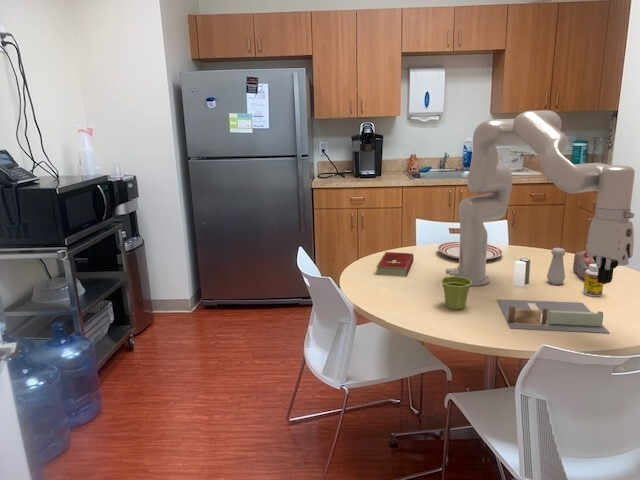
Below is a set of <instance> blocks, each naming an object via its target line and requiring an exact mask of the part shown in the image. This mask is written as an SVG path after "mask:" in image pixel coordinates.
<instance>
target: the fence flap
mask: <svg viewBox="0 0 640 480" xmlns="http://www.w3.org/2000/svg"><path fill="white" fill-rule="evenodd" d="M603 320H604V312H603V311H602V310H601V311H599V310H598V312H597V311H596V312H595V311H594V312H592V311H591V312H572V311H549V316H548V323H549V324H566V325H587V326H602V325H603V322H604V321H603Z"/></svg>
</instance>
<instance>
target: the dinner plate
mask: <svg viewBox="0 0 640 480" xmlns="http://www.w3.org/2000/svg"><path fill="white" fill-rule="evenodd" d="M437 250H438V251H439V252H440V253H441V254H443V255H445V256H447V257H450V258H452V259H454V258H455V260H458V261H459V253H460V240H458V241H447V242H443V243H440V244H439V245H438V246H437ZM503 254H504V251H503V250H502V249H501V248H499V247H498V246H496V245H492V244H489V243H487V256H486V261H487V260H491V259H495V258H498V257H501V256H502V255H503Z"/></svg>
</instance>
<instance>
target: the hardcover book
mask: <svg viewBox="0 0 640 480" xmlns="http://www.w3.org/2000/svg"><path fill="white" fill-rule="evenodd" d="M414 259H415V258H414V253H412V252H411V253H410V252H408V253H407V252H393V251H385V252H384V254H383V255H382V256H381V259H380V260H379V262H378V263H377V265H376V268H377V275H379V276H390V277H391V276H392V277H393V276H394V277H404V278H405V277H406V278H408V275H409V272H410V271H411V270H410V269H411V267H412V265H413V262H414Z"/></svg>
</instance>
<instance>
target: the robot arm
mask: <svg viewBox="0 0 640 480" xmlns="http://www.w3.org/2000/svg"><path fill="white" fill-rule="evenodd" d="M562 127H563V126H562V119H561V117H560V116H559V114H558V113H556V112H555V111H553V110H546V109H544V110H543V109H542V110H541V109H540V110H526V111H524V112H521V113H519V114H518V115H517V116H516V117H515V118H496V119H489V120H486V121H482V122H480V123H479V124H478V125H477V126H476V128H475V129H474V132H473V135H472V155H471V160H470V166H469V172H468V178H467V189H468V191H470V193H473V194H479V195H473V196H468V197H466V198H464V199H462V200H461V201H460V203H459V205H458V208H457V211H458V218H459V226H460V227H459V229H460V231H459V241H460V253H459V260H458V265H457V267H456V268H455V267H454V269H452V268H446V269H445V275H449V276H454V277H464V278H467V279H469V280H471V281H472V284H471V285H470V287H473V286H475V287H478V286H484V285H488V284H489V283H490V277H489V276H488V275H486V273H487V272H486V270H487V269H486V268H487V260H486V256H487V244H488V230H487V229H486V227H485V225H484V223H485V222H490V221H491V222H492V221H498V220H500V219H502V218H503V217H504V216H505V215H506V213H507V211H508V206H509V201H510V197H511V193H512V188H513V181H514V180H513V175H512V172H511V170H510V168H509V167H507V166H505V165H501V164H498V160H499V153H498V148H497V147H501V146H503V147H504V146H520V145H522V146H523V145H526V146H528V147H529V148H530V149H532V151H533V152H534V153H536V154H537V155H538V156H539V157H540V166H541V167H542V168H541V169H542V171H543V174H544V175H545V177H546V178H547V180H550V182H551V183H552V184H554V185H555V186H556V187H557V188H558V189H560V190H561V191H563V192H565V193H568V194H580V193H590V192H597V193H596V201H595V212H594V213H595V214H594V217H593V218H592V220H591V222H590V225H589V228H588V231H587V232H588V234H587V237H586V238H587V239H586V252H587V256H588V257H590V258H592V259H594V261H595V262H596V266H597V267H598V282H599V283H602V284H603V285H605V284H606V285H607V284H610V283H612V281H613V275H614V269H616V268H617V267H621V266H622V267H625V266H628V265H630V263H629V259H631V258H633V254H634V246H635V245H634V243H635V242H634V241H635V235H634V234H635V232H634V226H633V225H634V224H633V221H632V220H630V219H633V218H635V213H633V212H632V211H631V208H632V199H633V198H632V197H633V192H634V191H633V190H634V183H635V169H634V168H633V167H631V166H629V165H621V164H620V165H619V164H618V165H616V164H615V165H610V164H607V163H601V162H590V163H587V162H586V163H577V164H574V163H572V162H571V161H570V160H569V159H567V158H566V157H565V155H563V154H562V153H563V152H564V151H565V149H566V148H567V145H568V137H567V135H566V134H565V133H563V132H562V131H561V129H562Z"/></svg>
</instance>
